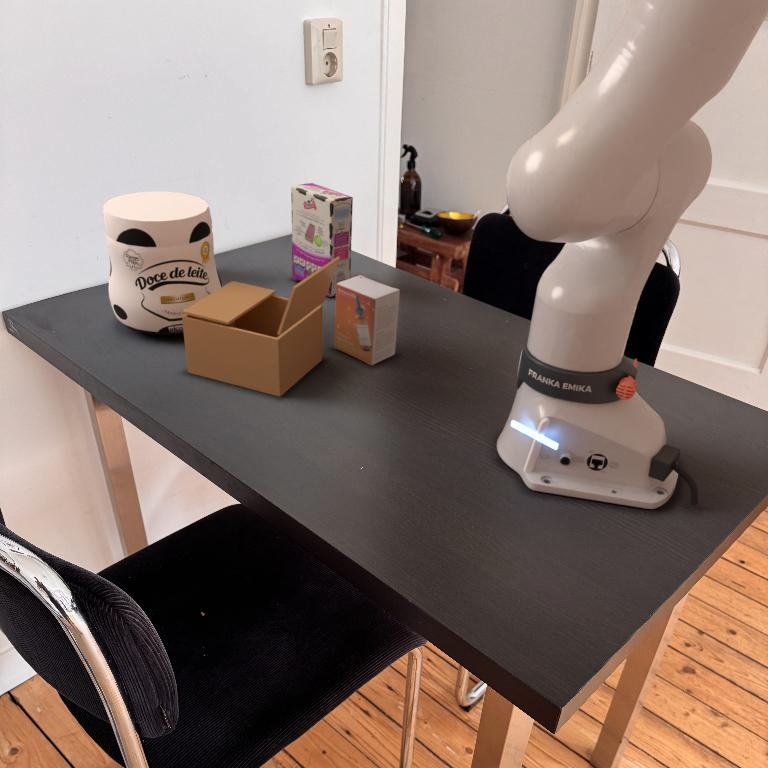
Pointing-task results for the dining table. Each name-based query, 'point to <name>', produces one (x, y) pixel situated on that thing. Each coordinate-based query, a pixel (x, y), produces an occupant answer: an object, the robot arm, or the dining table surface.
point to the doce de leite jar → (158, 258)
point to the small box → (366, 319)
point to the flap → (308, 295)
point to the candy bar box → (320, 232)
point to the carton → (250, 339)
